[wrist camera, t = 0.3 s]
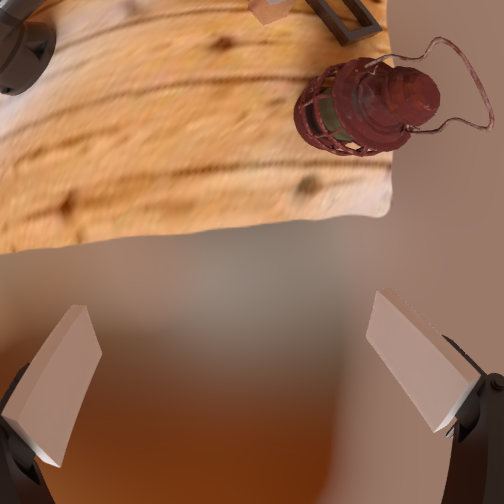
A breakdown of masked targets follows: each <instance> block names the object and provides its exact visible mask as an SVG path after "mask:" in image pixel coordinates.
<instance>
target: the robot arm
mask: <svg viewBox="0 0 504 504" xmlns="http://www.w3.org/2000/svg"><path fill="white" fill-rule="evenodd" d="M44 1H46V0H0V93H2V94H5V95H11V96H14V95H18V94H21V93H22V92H24V91H26V90H27V89H28V88H30V87H31V86H32V85H33V84H34V83H35V82H36V81H37V79H38V78H39V77H40V76H41V74H42V73H43V72H44V70H45V69H46V67H47V65H48V63H49V61H50V59H51V57H52V54H53V52H54V48H55V43H56V36H55V32H54V30H53V29H52V28H51V27H49V26H48V25H46V24H44V23H39V22H24V21H25V20H26V19H27V18H28V17H29V16H30V15H31V14H32V13H33V12H34V11H35V10H36V9H37V8H38V7H39V6H40V5H41V4H42V3H43V2H44ZM366 338H367V340H368V341H369V342H370V344H371V345H372V346H373V348H374V349H375V350H376V352H377V353H378V354H379V356H380V357H381V358H382V360H383V361H384V363H385V364H386V365H387V367H388V368H389V369H390V371H391V372H392V374H393V375H394V376H395V378H396V379H397V380H398V382H399V383H400V385H401V386H402V387H403V389H404V390H405V392H406V393H407V394H408V396H409V397H410V399H411V400H412V402H413V403H414V404H415V406H416V407H417V409H418V410H419V412H420V413H421V415H422V416H423V418H424V419H425V420H426V422H427V423H428V425H429V426H430V428H431V429H432V431H433V432H436V431H438V430H440V429H441V428H443V427H445V426H447V425H448V423H449V422H450V421H451V420H452V418H453V417H454V416H455V417H456V418H457V419H458V420H457V421H456V422H455V424H454V425H453V426H452V427H451V429H450V430H449V431H448V432H447V434H446V438H447V437H448V436H449V435H450V434H451V433H452V432H453V431H454V434H453V435H452V436H451V438H453V443H452V451H451V458H450V465H449V470H448V476H447V481H446V485H445V490H444V495H443V498H442V503H441V504H504V377H503V376H502V375H500V374H498V373H491V374H489V375H487V374H486V373H485V372H484V371H483V370H482V369H481V368H480V367H479V366H478V365H477V364H476V363H475V362H474V361H473V360H472V359H471V358H470V357H469V356H468V355H467V354H466V355H465V352H464V351H463V350H462V349H460V348H459V346H458V345H457V344H456V343H455V342H454V341H452V340H451V339H449V338H448V337H446V336H444V335H441V334H440V333H438V332H437V331H436V330H435V329H434V328H433V327H432V326H431V325H430V324H429V323H428V322H427V321H426V320H425V319H424V318H422V317H421V316H420V315H419V314H418V313H417V312H416V311H415V310H414V309H413V308H412V307H410V306H409V305H408V304H407V303H406V302H405V301H404V300H403V299H401V298H400V297H399V296H398V295H397V294H396V293H395V292H394V291H392V290H391V289H390V288H386V289H379V290H377V292H376V296H375V301H374V305H373V309H372V314H371V318H370V322H369V326H368V330H367V333H366ZM101 355H102V352H101V349H100V346H99V344H98V341H97V338H96V335H95V332H94V329H93V326H92V323H91V320H90V317H89V314H88V311H87V307H86V305H72V306H71V307H70V308H69V310H68V311H67V312H66V314H65V315H64V316H63V318H62V319H61V320H60V322H59V323H58V324H57V326H56V327H55V328H54V330H53V331H52V333H51V334H50V335H49V337H48V338H47V340H46V341H45V343H44V344H43V345H42V347H41V349H40V350H39V352H38V353H37V354H36V356H35V357H34V359H33V361H32V362H31V363H27V364H26V365H25V366H24V367H22V368H21V369H20V370H19V372H18V373H17V375H16V377H15V378H14V381H12V383H11V385H10V386H9V387H10V388H8V390H7V391H6V393H5V395H4V397H3V398H2V400H1V402H0V504H55V502H54V500H53V498H52V496H51V494H50V492H49V489H48V487H47V485H46V483H45V480H44V478H43V476H42V473H41V471H40V468H39V466H38V464H37V462H36V461H35V460H34V457H35V454H37V455H38V456H39V457H40V458H41V459H42V460H43V461H44V462H46V463H48V464H51V465H54V466H57V467H61V464H62V461H63V457H64V454H65V450H66V447H67V444H68V441H69V438H70V435H71V432H72V429H73V426H74V423H75V420H76V417H77V415H78V412H79V409H80V406H81V404H82V401H83V399H84V396H85V393H86V391H87V388H88V386H89V383H90V381H91V379H92V376H93V374H94V371H95V369H96V367H97V364H98V362H99V360H100V358H101Z"/></svg>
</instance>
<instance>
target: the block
mask: <svg viewBox="0 0 504 504" xmlns="http://www.w3.org/2000/svg"><path fill="white" fill-rule="evenodd" d="M294 2H295V0H250V1H249V6H248V9H249V10H250V11H251V12H252V13H253V14H254V16H255V17H256V18H257V19H258V20H259V21H260V22H261V24H262V25H263V26H264V25H267V24H269V23H272V22H274V21H277V20H279V19H282V18H285V17H286V16H287V14H288V13H289V11H290V9H291V7H292V5H293V4H294Z"/></svg>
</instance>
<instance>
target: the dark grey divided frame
mask: <svg viewBox="0 0 504 504" xmlns="http://www.w3.org/2000/svg"><path fill="white" fill-rule="evenodd" d="M305 1H306V2H307V3H308V4H309V5H310V6H311V8H312V9H313V10H314V11H315V12H316V13H317V15H318V16H319V17H320V18H321V19H322V21H323V22H324V23H325V24H326V26H327V27H328V28H329V29H330V31H331V32H332V33H333V35H334V36H335V37H336V39H337V40H338V41H339V43H340V44H341V45H342V46H345V45H348V44H351V43H353V42H356V41H359V40H362V39H365V38H368V37H371V36H374V35H376V34H378V33H379V32H381V31H383V30H382V28H381V27H380V26H379V24H378V23H377V21H376V20H375V19H374V17H373V16H372V15H371V14H370V12H369V11H368V10H367V8H366V7H365V6H364V5H363V4H362V2H361V1H360V0H342V1H343V2H344V3H345V4H346V6H347V7H348V8H349V9H350V10H351V12H352V13H353V14H354V15H355V17H356V18H357V19H358V21H359V22H360V23H361V25H362V26H363V27H364V28H361V29H358V30H354V31H351V32H349V30H348V29H347V28H346V26H345V25H344V24H343V22H342V21H341V20H340V19H339V17H338V16H337V15H336V14H335V12H334V11H333V10H332V9H331V8H330V7H329V5H328V4H327V3H326V2H325V1H324V0H305Z"/></svg>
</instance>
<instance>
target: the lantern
mask: <svg viewBox="0 0 504 504" xmlns="http://www.w3.org/2000/svg"><path fill="white" fill-rule="evenodd" d="M439 42H443V43H445V44H447V45H449V46H450V47H452V48H453V49H454V50H455V51H456V52H457V53H458V54H459V55H460V56H461V57H462V59H463V60H464V62H465V64H466V66H467V68H468V70H469V71H470V73H471V75H472V77H473V79H474V81H475V83H476V85H477V87H478V89H479V91H480V93H481V96H482V98H483V100H484V102H485V105H486V107H487V109H488V111H489V118H490V123H489V125H488V127H481V126H477V125H475V124H473V123H470V122H468V121H465V120H463V119H460V118H451V119H448V120H447V121H446V122H445V123H444V124H443V125H442V126H441V127H440V128H439V129H435V130H431V131H413V130H414V129H418V130H420V129H419V128H417V127H415V126H420V125H422V124H424V123H425V122H427V121H428V120H429V119H431V117H433V116H434V115H435V113H436V111H437V109H438V108H439V106H440V93H439V90H438V88H437V85H436V84H435V83H434V81H433V80H432V79H431V78H430V77H429V76H428V75H426V74H424V73H422V72H420V71H419V70H417V69H415V68H411V67H401V66H397V67H395V68H392V67H390V66H389V65H387V64H386V63H384V62H383V60H385V59H387V58H395V59H401V60H406V61H412V62H416V61H421V60H423V59H424V58H426V57H427V55H428V54H429V52H430V51H431V49H432V48H433V46H434V45H436V44H437V43H439ZM335 70H338V72H337V73H333V72H334V71H335ZM328 77H335V79H334V82H333V85H332V86H331V87H321V86H322V83H323V81H324V80H325V79H326V78H328ZM316 83H317V84H316ZM315 84H316V86H315V88H314V85H315ZM311 88H312V89H311ZM294 121H295V125H296V128H297V130H298V132H299V134H300V135H301V137H302V138H303V139H304V140H305V141H306V142H307V143H308V144H310V145H312V146H314V147H316V148H318V149H321V150H327V151H328V152H331V153H333V154H336V155H340V156H348V155H355V156H360V157H363V156H373V155H376V154H378V153H381V152H382V151H385V152H389V151H392V150H396V149H399V148H400V147H401V146H402V145H404V144H405V143H406V142H407V141H408V139H409V138H410V137H411V135H415V134H436V133H439V132H441V131H442V130H443V129H444V128H445V127H446V125H448V123H449V122H452V121H461V122H463V123H466V124H468V125H470V126H473V127H475V128H477V129H479V130H482V131H485V132H490V131H491V130H492V128H493V124H494V115H493V111H492V108H491V105H490V103H489V100H488V98H487V95H486V93H485V91H484V88H483V86H482V84H481V82H480V80H479V78H478V77H477V75H476V73H475V71H474V70H473V68H472V66H471V65H470V63H469V62H468V60H467V58H466V57H465V55H464V54H463V53H462V52H461V51H460V49H459V48H458V47H457V46H456V45H454V44H453V43H452V42H451V41H449V40H447V39H444V38H442V37H436V38H434V40H432V41H431V43H430V45H429V47H428V49H427V50H426V52H425V54H424V55H423V56H421V57H419V58H407V57H403V56H398V55H394V54H390V55H384V56H382V57H380V58H377V59H373V58H361V57H360V58H357V59H354V60H351V61H349V62H347V63H341V64H337V65H334V66H330V67H329V68H328V69H326V70H325V72H324V73H323V74H322V75H321V76H317V77H315V78H314V79H313V80H311V82H310V83H309V84H308V86H307V87H306V89H305V91H304V93H303V95H302V96H301V97H300V98H299V99H298V101H297V103H296V106H295V108H294ZM352 142H353V143H355V144H357V145H358V146H360V147H361V148H359V149H357V150H354V149H351V148H349V147H346V146H345V145H346V144H347V143H352ZM339 148H341V149H342V150H344V151H340V150H336V149H339ZM368 149H370V150H372V151H367V150H368Z"/></svg>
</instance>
